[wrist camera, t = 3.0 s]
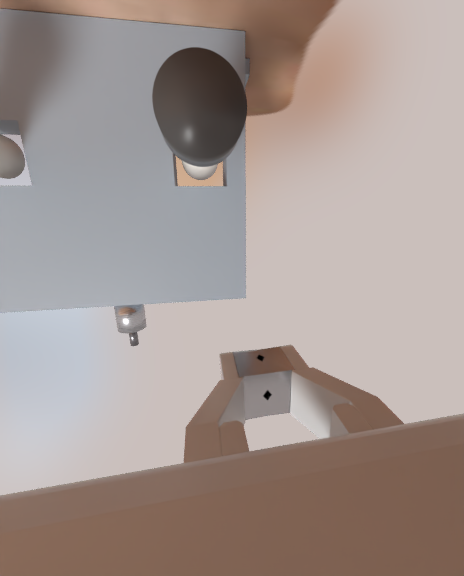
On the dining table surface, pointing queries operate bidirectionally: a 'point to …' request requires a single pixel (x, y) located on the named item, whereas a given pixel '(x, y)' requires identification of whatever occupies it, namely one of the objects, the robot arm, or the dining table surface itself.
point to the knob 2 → (199, 108)
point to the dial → (130, 320)
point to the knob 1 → (10, 158)
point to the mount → (109, 170)
